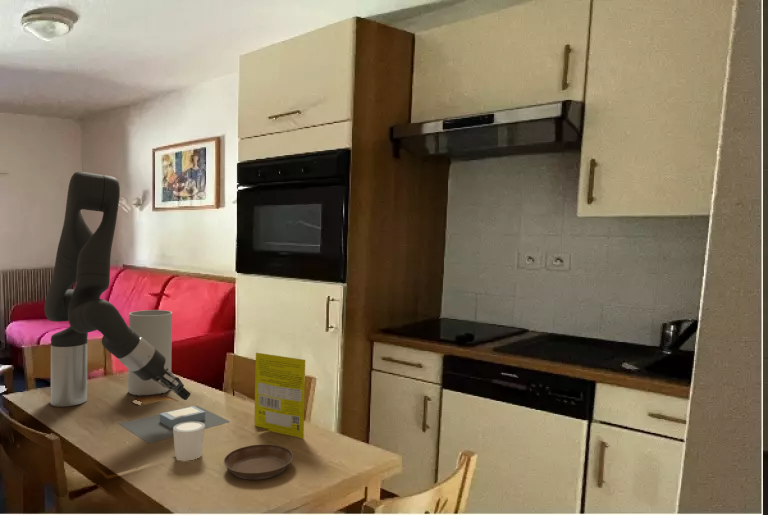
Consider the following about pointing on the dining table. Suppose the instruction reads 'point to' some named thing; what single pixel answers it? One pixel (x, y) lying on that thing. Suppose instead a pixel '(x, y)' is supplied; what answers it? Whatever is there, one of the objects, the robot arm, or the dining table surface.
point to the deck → (182, 416)
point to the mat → (164, 426)
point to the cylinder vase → (159, 335)
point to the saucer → (258, 461)
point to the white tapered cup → (188, 440)
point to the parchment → (152, 398)
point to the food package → (280, 394)
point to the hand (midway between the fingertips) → (187, 396)
